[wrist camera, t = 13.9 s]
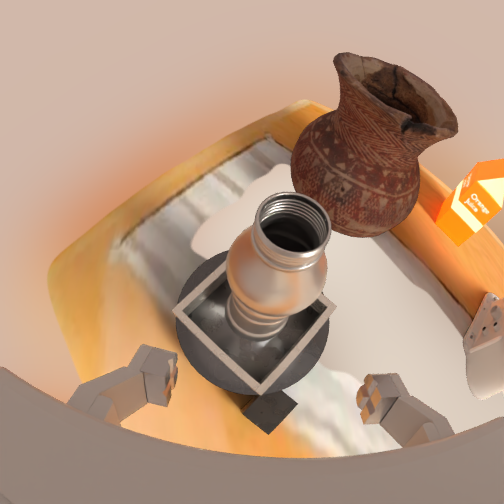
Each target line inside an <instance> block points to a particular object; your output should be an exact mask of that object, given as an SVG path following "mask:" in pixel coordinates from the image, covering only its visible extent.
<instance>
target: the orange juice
mask: <svg viewBox="0 0 504 504" xmlns="http://www.w3.org/2000/svg"><path fill="white" fill-rule="evenodd" d="M503 197H504V159H498V160H491V161H485V162H478V163H477V164H476V165H475V167H474V168H473V169H472V170H471V172H470V173H469V174H468V175H467V176H466V177H465V178H464V180H462V182H461V183H460V184H459V185H458V186H457V188H456V189H455V190H454V191H453V192H452V193H451V194H450V196H449V197H448V198H447V199H446V200H445V201H444V202H443V204H442V207H441V210H440V212H439V215H438V217H437V220H436V222H435V224H436V225H437V226H438V227H439V228H440V229H441V230H442V231H443V232H444V233H445V234H446V235H447V236H448V237H449V238H450V239H451V240H452V241H453V242H454V243H455V244H456V245H457V246H460V245H461V244H462V243H463V242H465V241H466V240H467V239H468V238H469V237H471V236H472V235H473V234H474V233H476V232H477V231H478V230H479V229H480V228H482V227H483V225H485V224H486V223H487V222H488V221H489V220H490V219H491V218H492V217H493V216H495V215H496V214H497V213H498V212H499V211H500V210H501V209H502V203H503Z"/></svg>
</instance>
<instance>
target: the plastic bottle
mask: <svg viewBox="0 0 504 504" xmlns="http://www.w3.org/2000/svg"><path fill="white" fill-rule="evenodd" d="M331 229H332V228H331V221H330V218H329V216H328V214H327V212H326V211H325V209H324V208H323V207H322V206H321V205H320V204H319V203H318V202H317V201H315V200H314V199H312V198H310V197H308V196H306V195H303V194H300V193H295V192H281V193H276V194H274V195H271V196H270V197H268V198H266V199H265V200H264V201H263V202H262V203H261V205H260V206H259V208H258V210H257V213H256V216H255V221H254V223H253V225H252V226H250V227H249V228H247V229H245V230H244V231H243V232H242V233H241V234H240V235H239V236H238V237H237V238H236V240H235V241H234V242H233V244H232V245H231V247H230V249H229V252H228V254H227V258H226V273H227V280H228V283H229V285H230V288H231V290H232V292H231V294H230V296H229V297H228V299H227V302H226V305H225V318H226V321H227V323H228V325H229V327H230V328H231V330H232V331H233V332H234V333H235V334H237V335H238V336H239V337H241V338H243V339H245V340H249V341H254V342H261V341H266V340H269V339H272V338H274V337H275V336H277V335H278V334H279V333H280V332H281V331H282V330H283V329H284V327H285V325H286V323H287V320H288V317H289V316H290V315H293V314H295V313H298V312H300V311H302V310H303V309H305V308H307V307H308V306H310V305H311V304H312V303H313V302H314V301H315V300H316V299H317V298H318V296H319V295H320V294H321V292H322V290H323V288H324V285H325V281H326V274H327V259H326V256H325V253H324V250H325V246H326V245H327V243H328V241H329V239H330V235H331Z"/></svg>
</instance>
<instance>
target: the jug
mask: <svg viewBox="0 0 504 504" xmlns="http://www.w3.org/2000/svg"><path fill="white" fill-rule="evenodd" d="M333 62H334V66H335V68H336V70H337V73H338V76H339V82H340V102H339V106H338V108H337V110H334V111H331V112H329V113H327V114H324V115H322V116H320V117H318V118H317V119H315V120H314V121H313V122H311V123H310V124H309V125H308V126H307V127H306V128H305V129H304V130H303V132H302V133H301V135H300V136H299V139H298V141H297V143H296V145H295V148H294V150H293V153H292V157H291V178H292V182H293V186H294V188H295V191H296V193H300V194H303V195H306V196H308V197H310V198H312V199H314V200H315V201H317V202H318V203H319V204H320V205H321V206H322V207H323V208H324V209H325V211H326V212H327V214H328V216H329V218H330V221H331V228H332V230H333V231H336V232H339V233H341V234H344V235H348V236H351V237H362V238H363V237H374V236H377V235H380V234H382V233H384V232H386V231H388V230H390V229H392V228H393V227H395V226H396V225H398V224H399V223H401V222H402V221H403V220H404V219H405V218H406V217H407V216H408V215H409V213H410V212H411V211H412V209H413V207H414V205H415V203H416V201H417V198H418V193H419V188H420V171H419V163H418V158H417V157H418V156H419V155H420V154H421V153H422V152H423V151H424V150H425V149H426V148H428V147H429V146H431V145H433V144H435V143H437V142H439V141H442V140H444V139H448V138H451V137H454V135H455V134H456V133H458V123H457V118H456V116H455V114H454V113H453V111H452V109H451V108H450V107H449V105H448V104H447V103H446V101H445V100H444V99H443V98H441V97H440V96H439V94H438V93H437V92H436V91H435V89H434V88H433V87H432V86H430V85H429V84H428V83H426V82H425V81H423V80H422V79H420V78H419V77H417V76H416V75H414V74H413V73H411V72H409V71H408V70H406V69H404V68H403V67H401V66H398V65H392V64H389V63H387V62H384V61H382V60H379V59H376V58H373V57H362V56H359V55H356V54H352V53H349V52H346V53H339V54H337V55H336V56H335V57H334V60H333Z"/></svg>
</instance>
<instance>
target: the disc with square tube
mask: <svg viewBox="0 0 504 504" xmlns="http://www.w3.org/2000/svg"><path fill="white" fill-rule="evenodd" d="M228 252H229V250H228V251H225V252H222V253H220V254H217V255H215V256H214V257H212V258H210V259H209V260H207V261H206V262H204V263H203V264H202V265H201V266H199V267H198V268H197V269H196V270H195V271H194V272H193V274H192V275H191V276H190V278H189V279H188V280H187V282H186V284H185V286H184V287H183V289H182V292H181V294H180V297H179V300H178V304H177V306H176V307H174V308H173V309H172V312H173V313H174V314H175V316H176V329H177V335H178V339H179V342H180V345H181V348H182V350H183V352H184V354H185V356H186V357H187V359H188V360H189V362H190V363H191V365H192V366H193V367H194V368H195V369H196V370H197V372H198V373H199V374H201V375H202V376H203V377H204V378H205V379H207V380H208V381H210V382H211V383H213V384H214V385H216V386H218V387H220V388H223V389H225V390H228V391H231V392H234V393H239V394H245V395H255V396H254V397H253V398H252V399H251V400H250V401H249V402H248V403H247V404H246V405H245V406H244V407H243V408H242V409H241V412H242V414H243V415H244V416H246V417H247V418H248V419H249V420H250V421H252V422H253V423H254V424H255V425H257V426H258V427H259V428H260V429H262V430H263V431H264V432H266V433H267V434H268V435H269V434H270V433H271V432H272V431H273V430H274V429H275V428H276V427H277V426H278V425H279V424H280V423H281V422H282V421H283V419H284V418H285V417H286V416H287V415H288V414H289V413H290V412H291V411H292V410H293V409H294V408H295V406H296V405H297V404H298V403H296V402H295V401H294V400H293V399H291V398H290V397H289V396H288V395H286V394H285V393H284V392H283V391H282V389H285V388H287V387H289V386H291V385H293V384H294V383H296V382H298V381H299V380H300V379H302V378H303V377H304V376H305V375H306V374H307V373H308V372H309V371H310V370H311V369H312V368H313V367H314V366H315V364H316V363H317V361H318V360H319V358H320V356H321V354H322V352H323V350H324V347H325V345H326V342H327V338H328V333H329V317H330V315H331V314H332V313H333V311H334V310H335V309H336V307H337V306H336V305H334V304H333V303H332V302H331V301H330V300H329V299H328V298H327V297H325V296H324V294H323V292H321V294H320V295H319V296H318V298H317V299H316V300H315V301H314V302H313V303H312V304H311V305H310V306H308V307H307V308H305V309H303V310H302V311H300V312H298V313H295V314H293V315H290V316H289V317H288V320H287V323H286V325H285V327H284V329H283V330H282V331H281V332H280V333H279V334H278V335H277V336H275V337H274V338H272V339H269V340H266V341H261V342H254V341H249V340H245V339H243V338H241V337H239V336H238V335H237V334H235V333H234V332H233V331H232V330H231V328H230V327H229V325H228V323H227V321H226V318H225V305H226V302H227V299H228V297H229V296H230V294H231V292H232V290H231V288H230V285H229V283H228V280H227V273H226V258H227V254H228Z"/></svg>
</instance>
